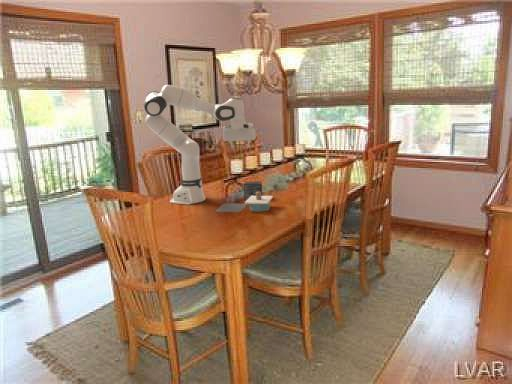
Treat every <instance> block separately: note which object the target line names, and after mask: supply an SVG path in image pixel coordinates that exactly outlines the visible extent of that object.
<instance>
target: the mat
mask: <svg viewBox="0 0 512 384" xmlns="http://www.w3.org/2000/svg"><path fill="white" fill-rule="evenodd" d="M247 205H248V204H245V203H222V204H221V205H220V206H219V207H218V208H217V209H216V210H215V211H214V212H217V213H241V211H242V210H243V209H245V207H247Z"/></svg>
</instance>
